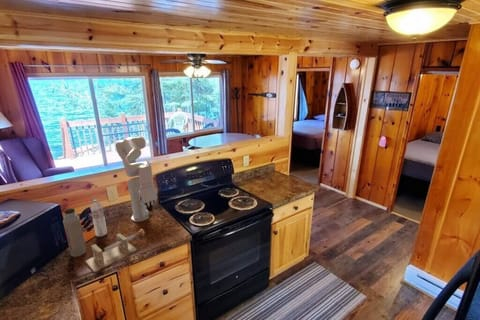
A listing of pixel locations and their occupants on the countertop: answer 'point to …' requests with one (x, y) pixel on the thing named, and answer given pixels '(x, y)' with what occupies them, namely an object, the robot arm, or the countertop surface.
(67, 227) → the thermos bottle
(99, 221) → the water bottle
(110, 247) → the shaft
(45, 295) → the countertop surface
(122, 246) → the bracket
